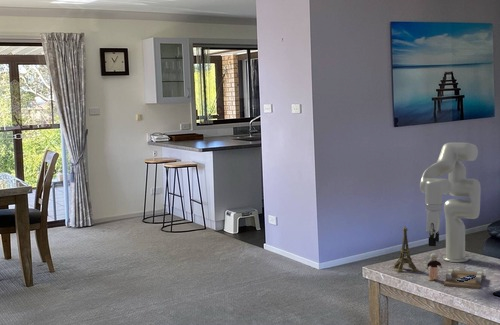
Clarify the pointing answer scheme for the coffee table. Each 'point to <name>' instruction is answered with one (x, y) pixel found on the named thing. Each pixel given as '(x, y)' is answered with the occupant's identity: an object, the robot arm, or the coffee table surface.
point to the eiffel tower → (402, 258)
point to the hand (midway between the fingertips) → (433, 243)
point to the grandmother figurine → (433, 267)
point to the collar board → (454, 275)
